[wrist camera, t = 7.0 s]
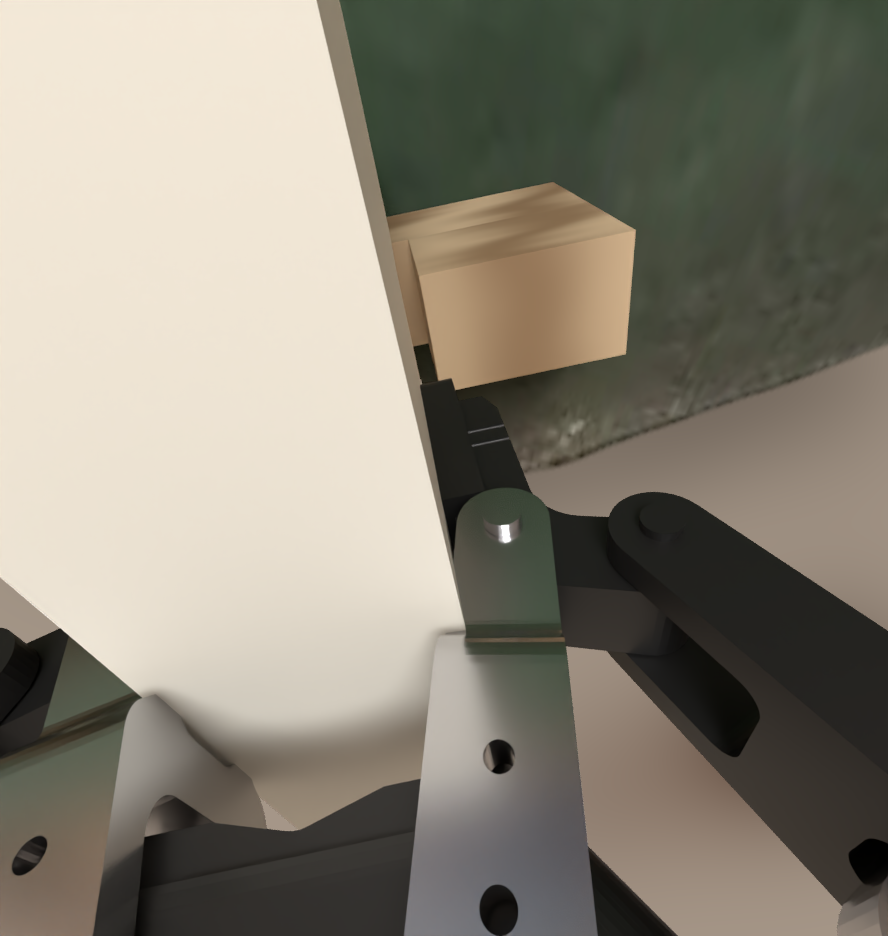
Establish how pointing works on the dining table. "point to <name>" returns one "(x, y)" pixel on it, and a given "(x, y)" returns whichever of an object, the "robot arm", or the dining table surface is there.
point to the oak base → (514, 283)
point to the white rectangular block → (217, 386)
